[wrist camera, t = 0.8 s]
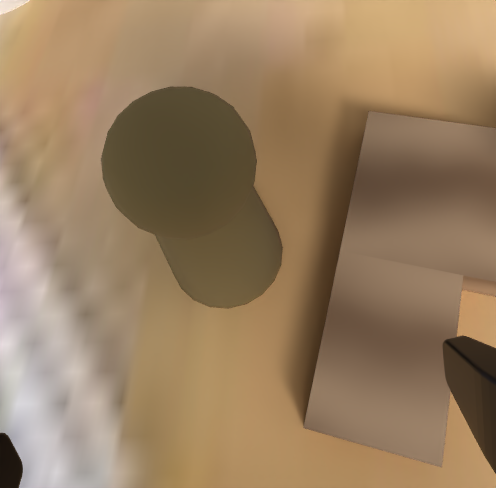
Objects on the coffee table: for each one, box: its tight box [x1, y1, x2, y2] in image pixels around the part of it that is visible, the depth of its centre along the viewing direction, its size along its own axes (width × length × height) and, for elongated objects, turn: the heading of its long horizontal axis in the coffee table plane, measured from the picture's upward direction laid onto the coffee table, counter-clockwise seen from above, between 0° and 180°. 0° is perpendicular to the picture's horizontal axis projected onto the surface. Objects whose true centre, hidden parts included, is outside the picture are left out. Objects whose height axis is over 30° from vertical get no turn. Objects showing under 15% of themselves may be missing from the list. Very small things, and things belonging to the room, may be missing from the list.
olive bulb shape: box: [101, 87, 282, 308], centre depth 19 cm, size 6×6×11 cm
